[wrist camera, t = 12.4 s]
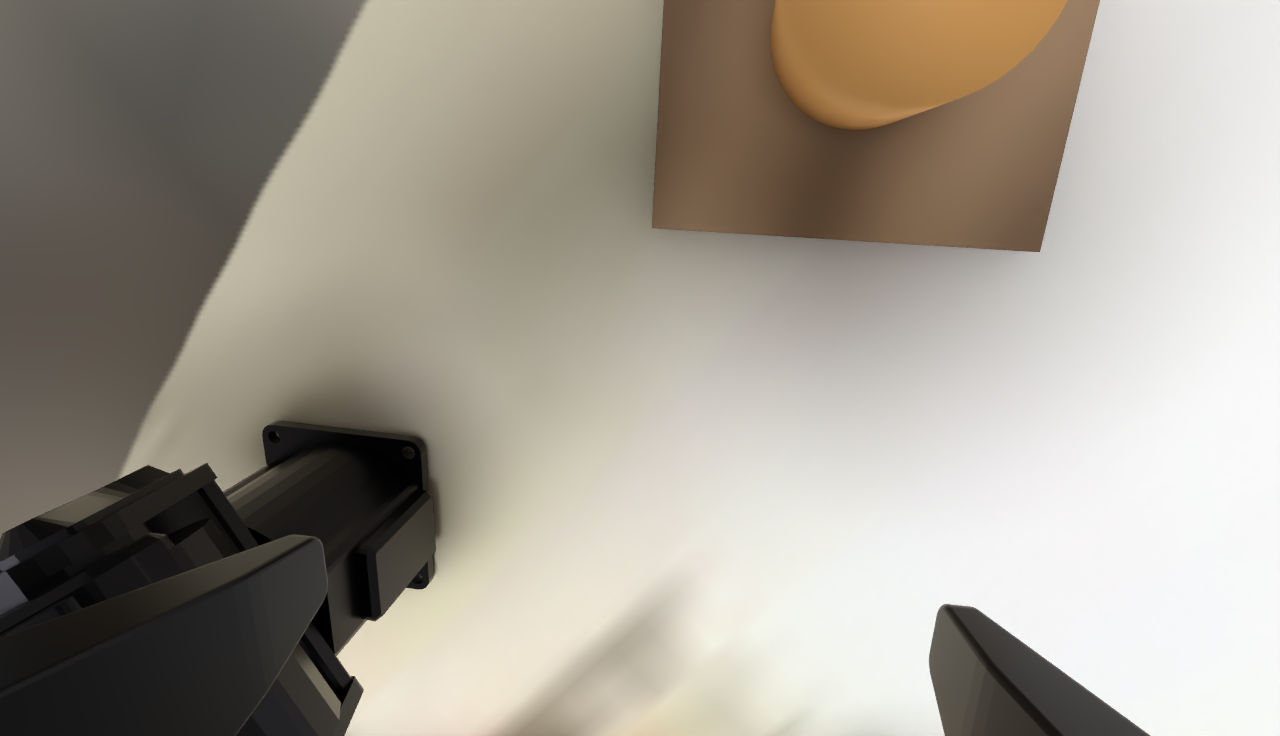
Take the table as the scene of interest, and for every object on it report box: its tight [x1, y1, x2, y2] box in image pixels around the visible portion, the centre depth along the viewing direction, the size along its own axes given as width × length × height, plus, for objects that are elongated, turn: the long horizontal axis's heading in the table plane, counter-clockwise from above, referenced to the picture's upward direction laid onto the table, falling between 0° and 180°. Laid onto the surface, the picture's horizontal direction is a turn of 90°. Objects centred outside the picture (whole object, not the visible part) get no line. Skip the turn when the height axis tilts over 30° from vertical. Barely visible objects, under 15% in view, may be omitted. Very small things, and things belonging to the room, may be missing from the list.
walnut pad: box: [652, 0, 1100, 252], centre depth 17 cm, size 11×11×1 cm
